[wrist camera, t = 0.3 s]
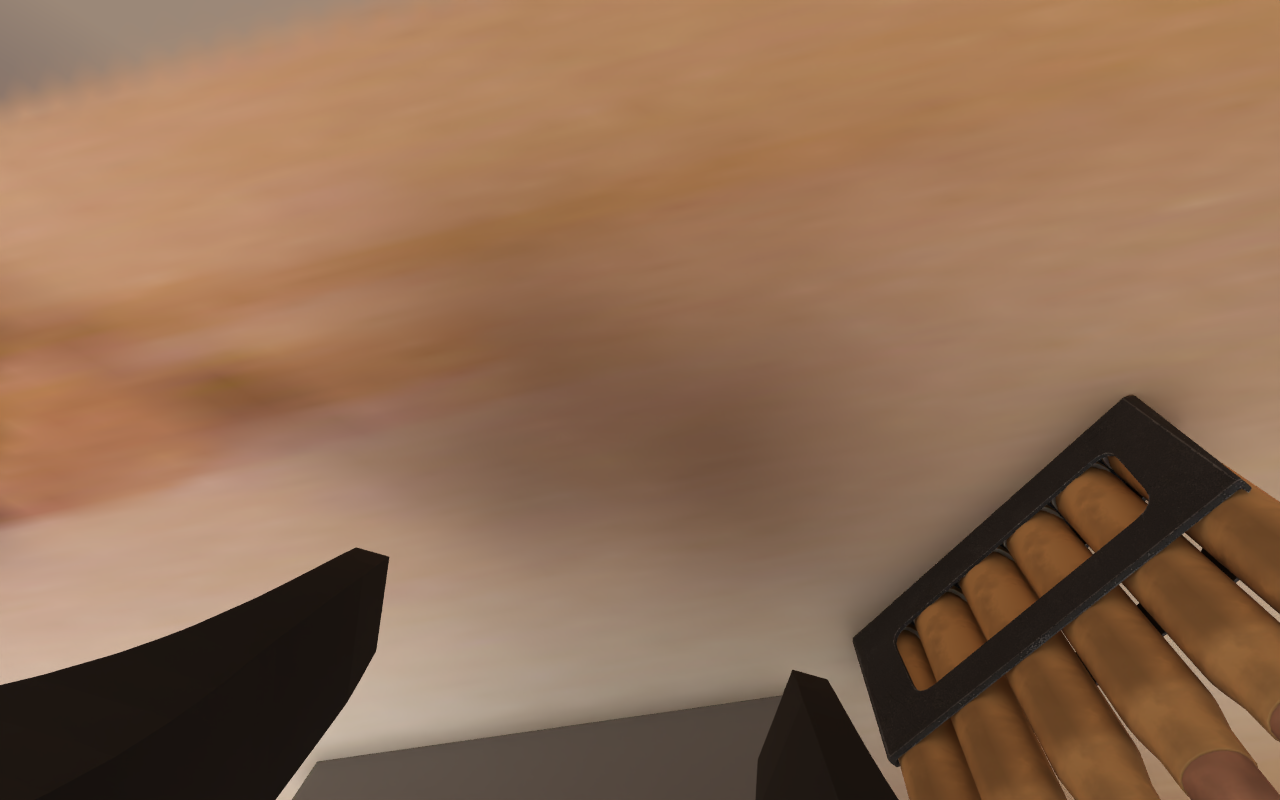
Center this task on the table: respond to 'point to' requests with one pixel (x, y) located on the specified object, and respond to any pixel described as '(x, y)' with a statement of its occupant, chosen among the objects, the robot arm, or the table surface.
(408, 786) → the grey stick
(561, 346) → the table surface
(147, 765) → the robot arm
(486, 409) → the table surface
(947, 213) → the table surface
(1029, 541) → the ammunition clip
